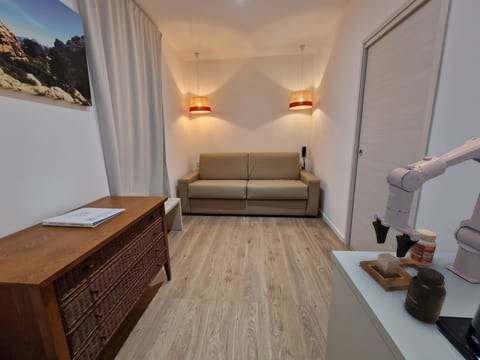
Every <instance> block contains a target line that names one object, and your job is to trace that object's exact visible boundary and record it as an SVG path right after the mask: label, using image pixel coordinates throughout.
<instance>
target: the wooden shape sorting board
mask: <svg viewBox="0 0 480 360" xmlns="http://www.w3.org/2000/svg"><path fill="white" fill-rule="evenodd" d="M398 259H399V260H400V264H399V269H398V273H397V278H387V279H384V278H383V277H382V276H381V275H380V274H379V273H377V272H376V271H375V270H376V264H377V259H375V260H374V259H373V260H362V261H361V260H360V261H359V267H360V268H361V269H363V270H364V271H365V273H366V274H368V276H370V277H371V278H372V279H373V280H374V281H375V282H376V283H377V284H379V286H380V287H382V288H383V290H385V292H395V291H396V290H397V291H405V290H406V291H408V287H409V283H410V279H411V278H412V277H413V276H414V275H412V274H411V273H409V271H407V270H405V269H409V268H408V267H412V268H413V269H414V270H416V271H417V272H418V270H419V268H420V267H424V265H420V264H418V263H417V262H415V261H414V260H412V259H411V258H410V257H404V258H398ZM445 284H446V281H445V280H444V284H443V286H444V287H445Z"/></svg>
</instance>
